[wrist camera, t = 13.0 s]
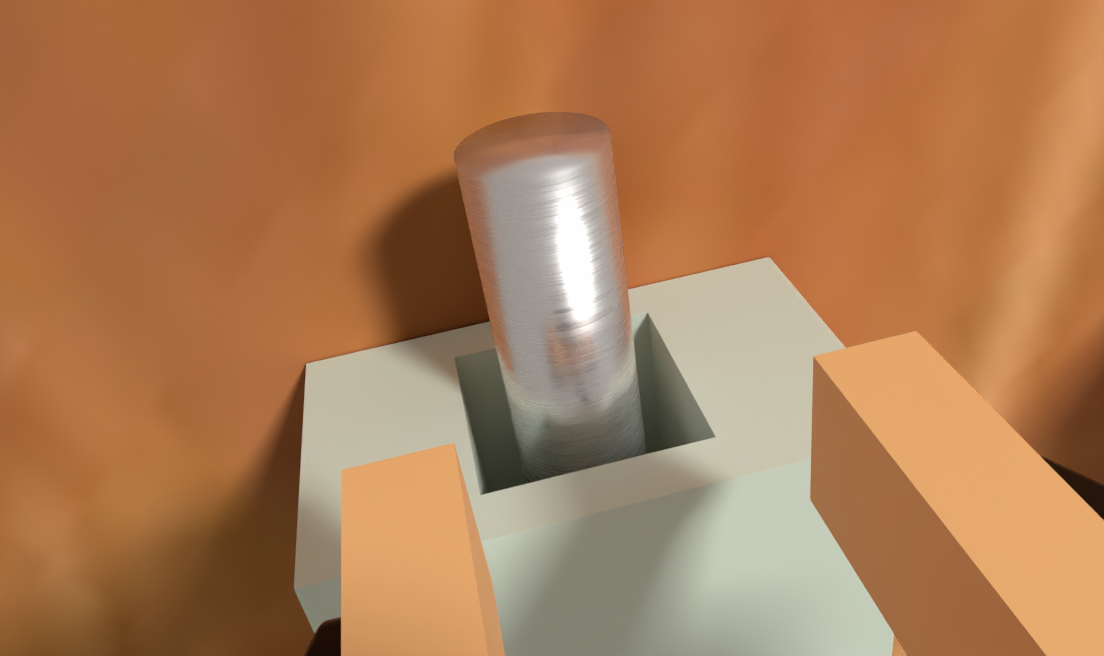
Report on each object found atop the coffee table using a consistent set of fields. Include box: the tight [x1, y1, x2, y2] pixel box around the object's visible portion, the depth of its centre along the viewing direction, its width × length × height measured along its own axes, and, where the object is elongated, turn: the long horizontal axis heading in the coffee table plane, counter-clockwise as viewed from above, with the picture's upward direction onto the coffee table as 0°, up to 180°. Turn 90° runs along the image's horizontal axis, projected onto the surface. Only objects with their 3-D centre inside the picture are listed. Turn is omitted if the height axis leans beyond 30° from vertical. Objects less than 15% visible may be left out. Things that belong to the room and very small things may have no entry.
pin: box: [454, 112, 646, 484], centre depth 17 cm, size 12×4×4 cm, turn 8°
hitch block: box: [294, 257, 894, 656], centre depth 18 cm, size 6×10×6 cm, turn 98°
